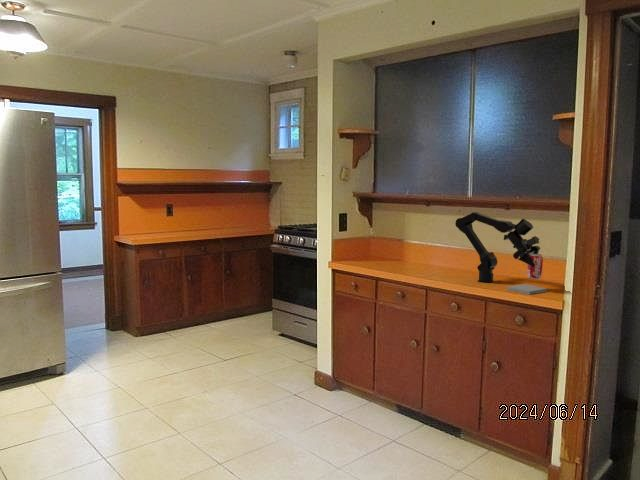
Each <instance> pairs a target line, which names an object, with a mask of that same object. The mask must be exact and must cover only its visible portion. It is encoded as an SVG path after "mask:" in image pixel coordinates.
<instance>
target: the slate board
mask: <svg viewBox="0 0 640 480" xmlns="http://www.w3.org/2000/svg"><path fill="white" fill-rule="evenodd" d="M506 288H507V290H508V291H512V292H516V293H521V294H524V295H525V294H526V295H534V294H539V293H546V292H548V288H546V287H543V286H542V287H541V286H536V285H531V284H526V283H523V284H521V283H520V284H516V285H508V286H507V287H506Z"/></svg>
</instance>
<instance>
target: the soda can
mask: <svg viewBox="0 0 640 480" xmlns="http://www.w3.org/2000/svg"><path fill="white" fill-rule="evenodd" d="M542 255H543V254H540V253H538V254H529V256H530V258H531V259H532V261H533V262H534V264H535V266H534V267H533V266H531V265H529V264H527V263H526V265H527V267H526V277H527V278H529V279H530V280H531V279H532V280H540V279H541V278H542V277H543V276H542V275H543V265H544V258H543V256H542Z"/></svg>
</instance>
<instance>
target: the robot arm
mask: <svg viewBox="0 0 640 480" xmlns="http://www.w3.org/2000/svg"><path fill="white" fill-rule="evenodd" d="M475 222H479V223H482V224H485V225H487V226H491V227H492V228H494V229H495V230H496V231H498V232H500V233H503V241H507V240H509V241H510V243H511V244H512V245H513V246H512V247H513V249H516V251H515V252H514V253H513V254H512V255H513V259H514V260H518V261H521V262H522V263H525V264H526V265H527V264H529V265H531V266H533V267H534V266H535V264H534V262H533V261H532V259H531V258H530V256H529V254H539V251H540V250H541V247H540V246H539V245H538V244H540V238H539V236H538V237H537V236H536V235H535V236H532V237H531V238H529V239H526V238H523V236H526V235H527V234H528V233H529V232H531V231H532V229H534V226H533V224H532V223H531V222H530V221H528V220H526V219H525V218H521V220H520V221H519V222H518V223H516V224H514V223H513V222H512V221H510V220H503V219H497V218H494V217H490V216H489V215H485V214H482V213H480V212H477V211H474V212H471V213H469V214H467V215H465V216H463V217H459V218H457V219H456V220H455V223H454V224H455V227H456V228H457V229H458V230H459V231H460V232H461V233H463V234H464V235H465V236H466V238H467V239H468V241H469V242H470V243H471V245H472V246H473V248H474V250H475V251H476V253H477V254H478V256H479V262H480V264H479V265H477V267H476V268H477V271H478V280H477V282H480V283H487V284H489V283H493V282H495V281H494V273H493V271H494V270H495V268H496V266H497V265H498V257H497V256H496V255H495V253H494V252H493V251H492V252H489V251H488V250H487V249H486V247H485V246H484V244H483V243H482V241H481V239H480V238H479V236H477V233H476V232H475V230H474V229H473V223H475ZM504 233H507V234H504Z"/></svg>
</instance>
